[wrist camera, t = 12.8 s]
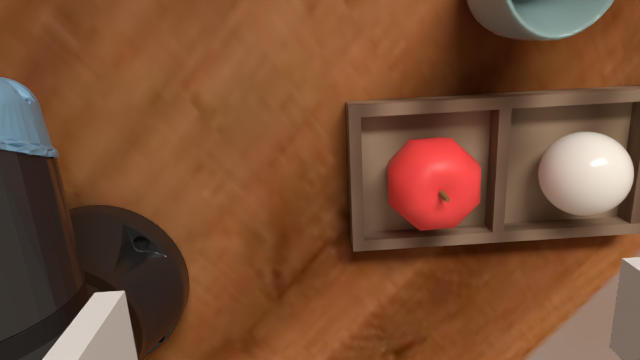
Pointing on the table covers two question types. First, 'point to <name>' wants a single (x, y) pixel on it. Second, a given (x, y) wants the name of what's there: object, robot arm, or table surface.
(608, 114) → the walnut well tray
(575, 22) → the cup
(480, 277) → the table surface
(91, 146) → the table surface
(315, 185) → the table surface
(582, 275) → the table surface
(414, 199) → the apple
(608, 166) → the ceramic ball
